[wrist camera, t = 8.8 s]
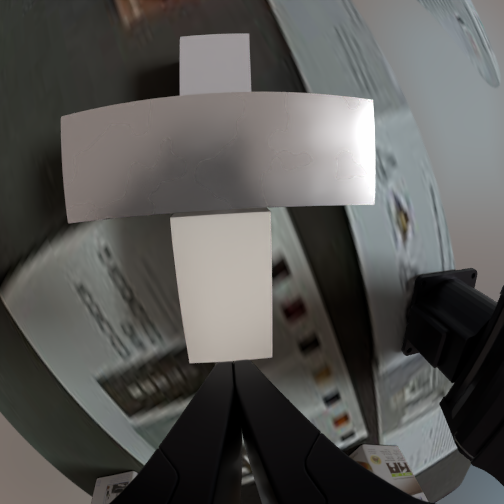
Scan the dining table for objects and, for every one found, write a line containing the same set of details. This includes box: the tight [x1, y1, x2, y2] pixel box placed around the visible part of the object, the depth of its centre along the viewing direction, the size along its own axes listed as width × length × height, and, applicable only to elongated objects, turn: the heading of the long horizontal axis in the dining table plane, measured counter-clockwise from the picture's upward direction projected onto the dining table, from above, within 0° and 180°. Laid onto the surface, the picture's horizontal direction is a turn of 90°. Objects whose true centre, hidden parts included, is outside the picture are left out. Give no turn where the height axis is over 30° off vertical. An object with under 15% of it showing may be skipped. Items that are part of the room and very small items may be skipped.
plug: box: [170, 34, 272, 363], centre depth 14 cm, size 4×16×4 cm, turn 2°
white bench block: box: [61, 92, 375, 223], centre depth 12 cm, size 11×4×6 cm, turn 92°
